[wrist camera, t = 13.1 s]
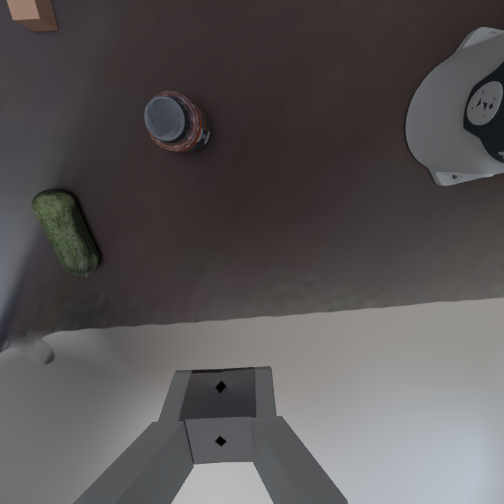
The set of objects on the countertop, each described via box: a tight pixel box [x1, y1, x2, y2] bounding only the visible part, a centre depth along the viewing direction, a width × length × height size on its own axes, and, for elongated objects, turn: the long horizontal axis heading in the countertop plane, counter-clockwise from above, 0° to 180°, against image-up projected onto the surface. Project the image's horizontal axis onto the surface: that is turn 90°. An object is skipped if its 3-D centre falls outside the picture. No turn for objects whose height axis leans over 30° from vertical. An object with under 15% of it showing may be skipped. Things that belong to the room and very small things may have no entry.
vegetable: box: [31, 189, 99, 277], centre depth 38 cm, size 14×5×5 cm, turn 11°
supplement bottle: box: [144, 91, 210, 152], centre depth 30 cm, size 6×6×11 cm
